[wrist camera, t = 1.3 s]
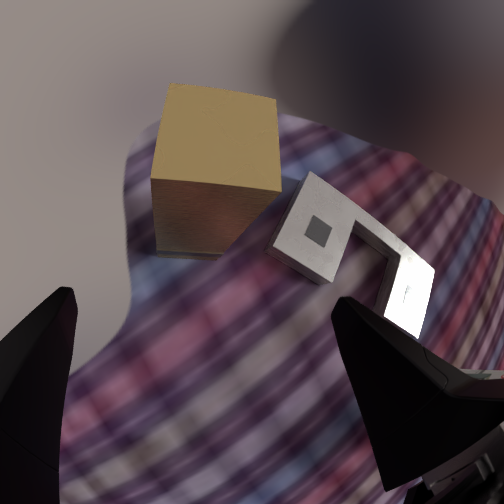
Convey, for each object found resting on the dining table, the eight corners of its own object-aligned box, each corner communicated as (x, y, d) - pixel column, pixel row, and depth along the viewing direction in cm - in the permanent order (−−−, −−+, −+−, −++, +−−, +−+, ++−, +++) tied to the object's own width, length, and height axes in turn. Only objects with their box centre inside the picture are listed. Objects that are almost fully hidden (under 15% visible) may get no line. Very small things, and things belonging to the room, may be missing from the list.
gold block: (216, 261, 22) (283, 193, 10) (157, 257, 21) (148, 179, 8) (218, 205, 23) (276, 98, 11) (162, 201, 22) (168, 82, 9)
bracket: (404, 337, 26) (418, 337, 24) (264, 251, 23) (273, 245, 21) (421, 273, 29) (434, 270, 27) (300, 180, 26) (310, 170, 24)
